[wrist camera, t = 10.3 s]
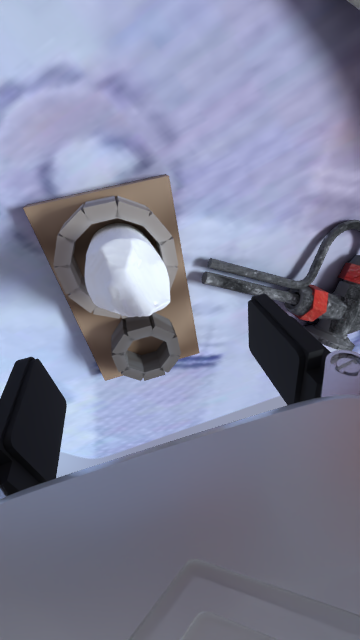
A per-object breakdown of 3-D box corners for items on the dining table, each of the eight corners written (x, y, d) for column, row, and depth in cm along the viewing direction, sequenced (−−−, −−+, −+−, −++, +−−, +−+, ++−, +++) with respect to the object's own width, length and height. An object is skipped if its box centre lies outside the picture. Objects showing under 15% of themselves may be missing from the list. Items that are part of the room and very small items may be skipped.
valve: (394, 241, 36) (342, 339, 41) (225, 175, 28) (185, 307, 33) (447, 247, 30) (380, 361, 35) (254, 167, 22) (200, 328, 27)
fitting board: (27, 204, 22) (12, 215, 19) (165, 174, 24) (176, 178, 20) (105, 372, 34) (105, 399, 30) (195, 345, 35) (206, 369, 31)
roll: (207, 289, 15) (152, 365, 16) (165, 247, 25) (133, 295, 27) (110, 225, 12) (54, 322, 14) (107, 208, 23) (76, 263, 24)
